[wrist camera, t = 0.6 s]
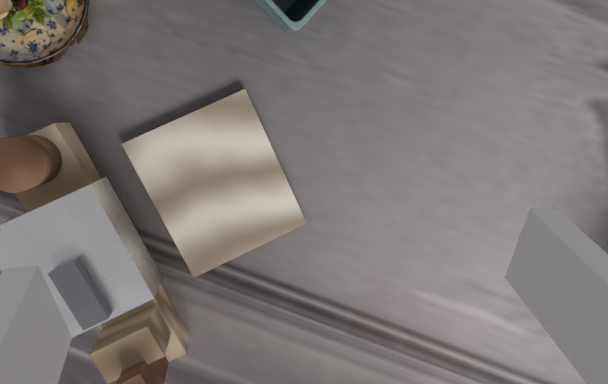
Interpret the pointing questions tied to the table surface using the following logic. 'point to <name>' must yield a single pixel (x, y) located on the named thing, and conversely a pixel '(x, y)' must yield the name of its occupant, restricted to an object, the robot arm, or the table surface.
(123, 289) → the white block with stub
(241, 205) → the ash board
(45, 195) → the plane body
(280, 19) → the flower pot
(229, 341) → the table surface
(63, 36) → the salad plate
